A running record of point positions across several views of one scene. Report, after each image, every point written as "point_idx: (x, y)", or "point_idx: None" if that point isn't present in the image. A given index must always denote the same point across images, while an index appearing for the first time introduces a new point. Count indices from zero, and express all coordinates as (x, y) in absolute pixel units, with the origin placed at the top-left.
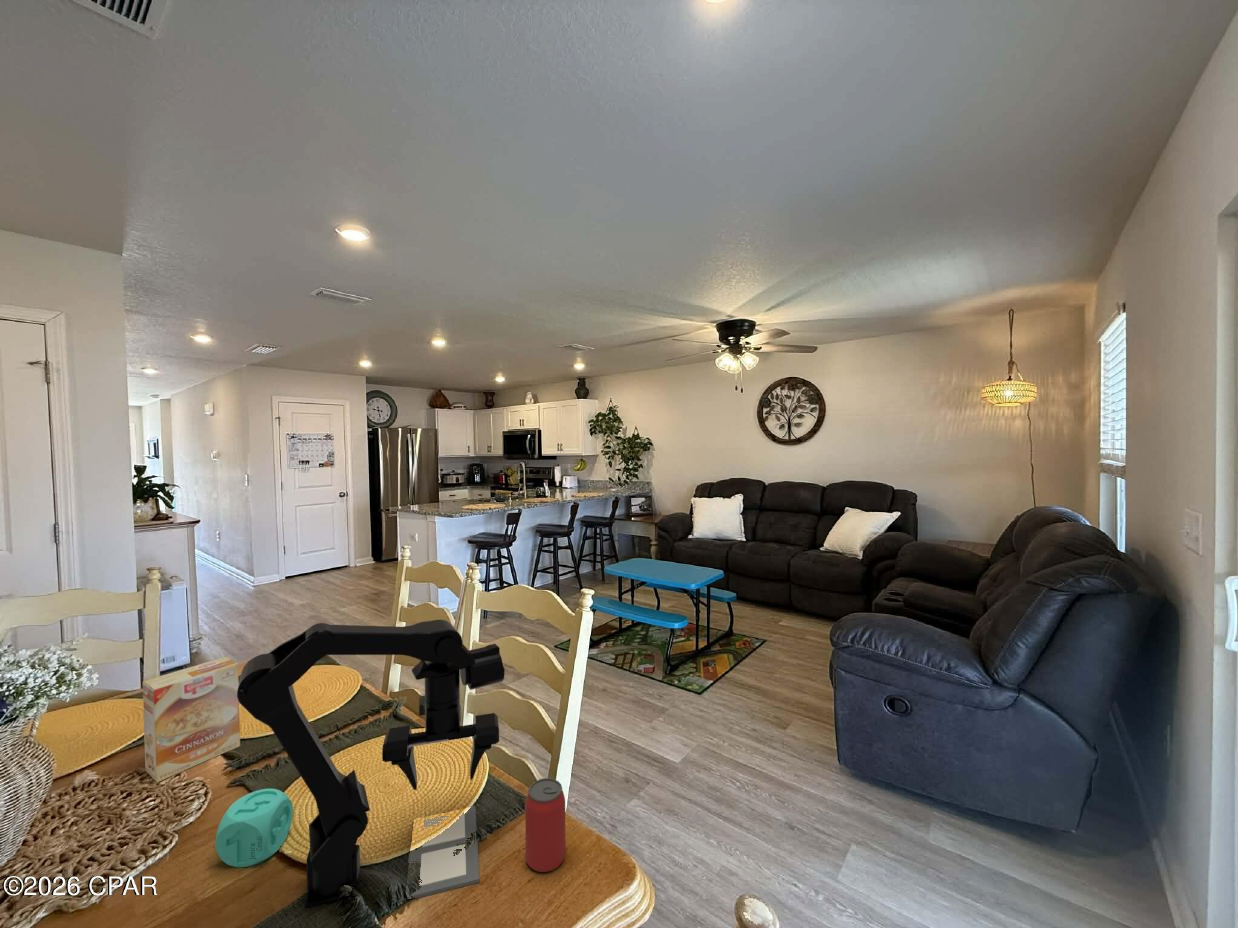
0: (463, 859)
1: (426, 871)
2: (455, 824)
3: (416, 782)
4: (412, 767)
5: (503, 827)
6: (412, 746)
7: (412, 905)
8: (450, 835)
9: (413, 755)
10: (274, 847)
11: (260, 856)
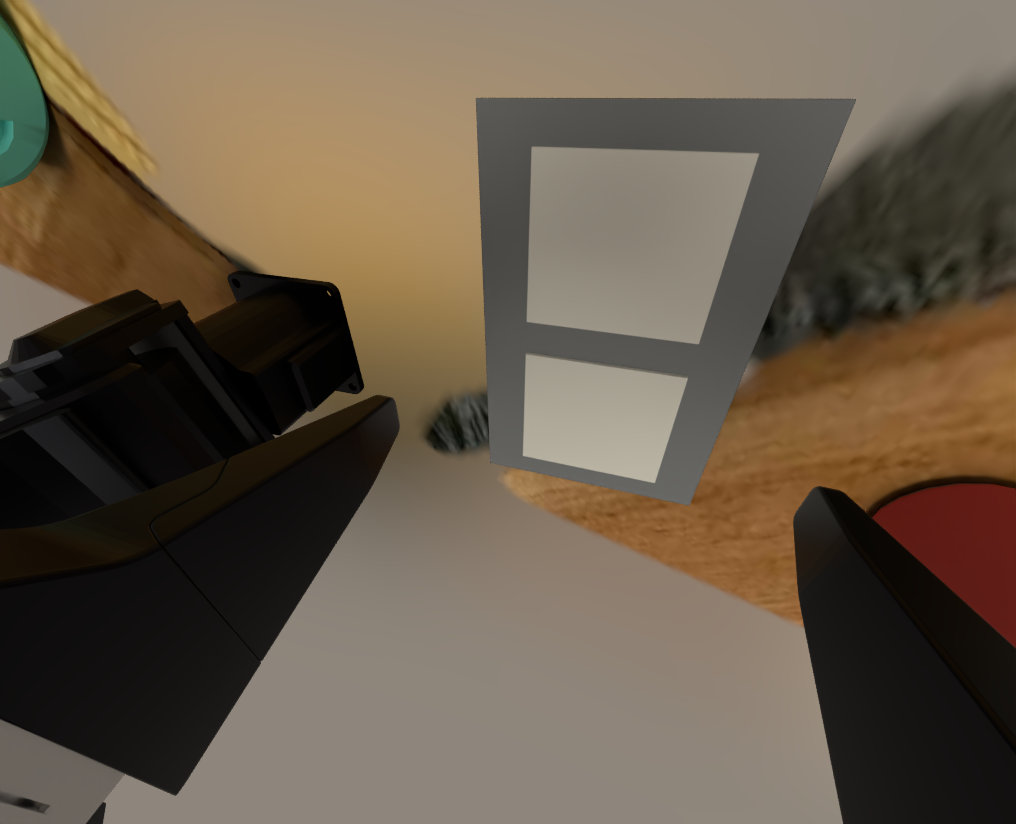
0: (661, 436)
1: (542, 423)
2: (679, 246)
3: (373, 459)
4: (260, 633)
5: (907, 327)
6: (2, 678)
7: (513, 472)
8: (640, 309)
9: (159, 585)
10: (25, 129)
11: (25, 177)
